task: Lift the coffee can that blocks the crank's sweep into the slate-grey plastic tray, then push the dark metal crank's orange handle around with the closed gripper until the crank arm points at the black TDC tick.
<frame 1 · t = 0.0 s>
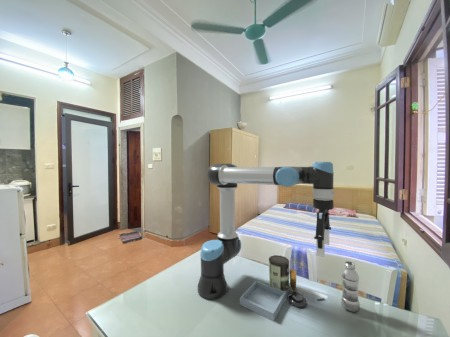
hand: (323, 249, 78), 28 cm above the table, fingers open, 13 cm apart
crank: (295, 284, 90), point 6 cm above the table, hinge at 120.0°
coffee can: (278, 286, 98), on the table
crank base: (297, 301, 87), on the table
tray: (263, 301, 87), on the table
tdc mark: (320, 299, 88), on the table
plastic bottle: (350, 309, 82), on the table
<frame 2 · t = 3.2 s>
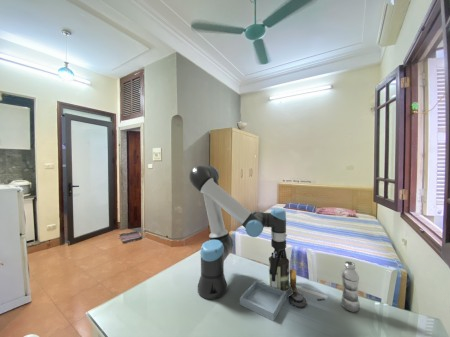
hand: (278, 280, 98), 3 cm above the table, fingers open, 12 cm apart
nothing on the table moved.
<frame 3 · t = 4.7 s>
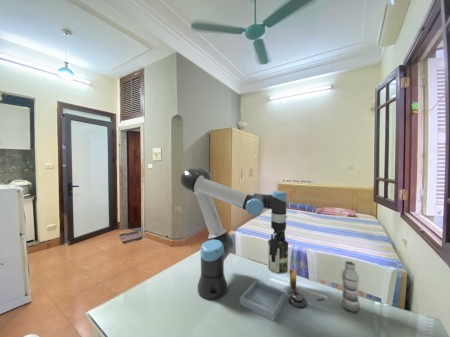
hand: (277, 263, 98), 12 cm above the table, fingers closed on coffee can, 10 cm apart
coffee can: (277, 269, 98), point 9 cm above the table, touching gripper
everything else where it was.
when the fingers open (5 cm above the table, at t = 8.9 s): coffee can drops 2 cm, resting on tray.
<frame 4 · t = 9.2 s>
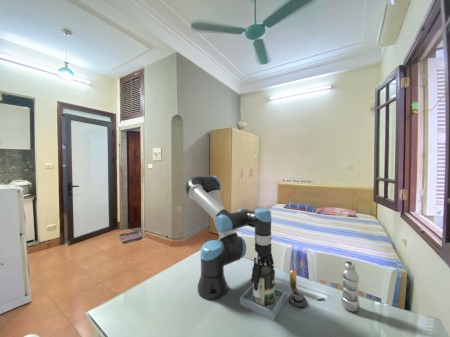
hand: (263, 288, 87), 6 cm above the table, fingers open, 13 cm apart
coffee can: (263, 300, 87), resting on tray
everything else where it was.
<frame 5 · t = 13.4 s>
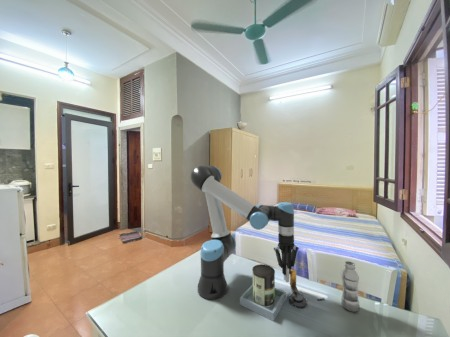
hand: (286, 280, 94), 6 cm above the table, fingers closed
crank: (295, 284, 90), point 6 cm above the table, hinge at 120.0°, touching gripper
everything else where it was.
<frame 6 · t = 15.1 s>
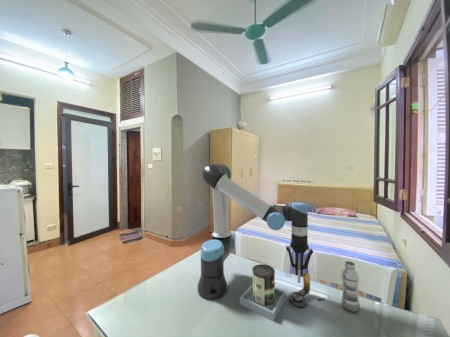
hand: (298, 281, 93), 6 cm above the table, fingers closed
crank: (301, 286, 89), point 6 cm above the table, hinge at 73.0°, touching gripper
everything else where it was.
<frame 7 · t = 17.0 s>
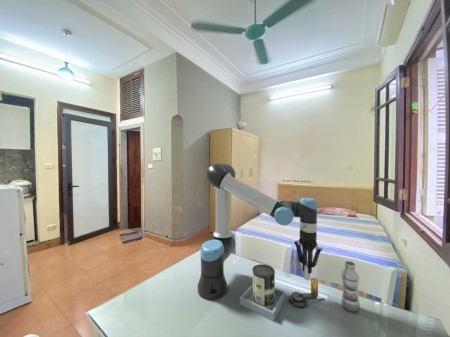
hand: (307, 278, 91), 8 cm above the table, fingers closed
crank: (304, 289, 87), point 6 cm above the table, hinge at 38.1°
everything else where it was.
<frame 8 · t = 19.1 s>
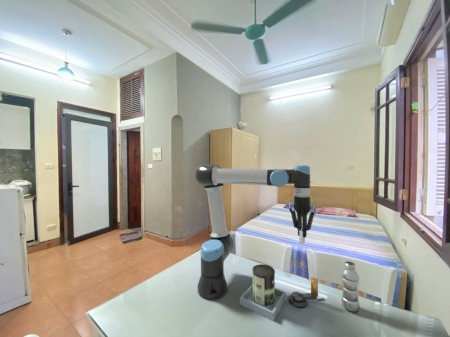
hand: (302, 242, 94), 24 cm above the table, fingers closed
nothing on the table moved.
at the end: crank at +38° (first picture: +120°); coffee can inside the target area on the tray (0.3 cm from its centre), point 0.4 cm above the tray's base; coffee can tilted 0° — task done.
